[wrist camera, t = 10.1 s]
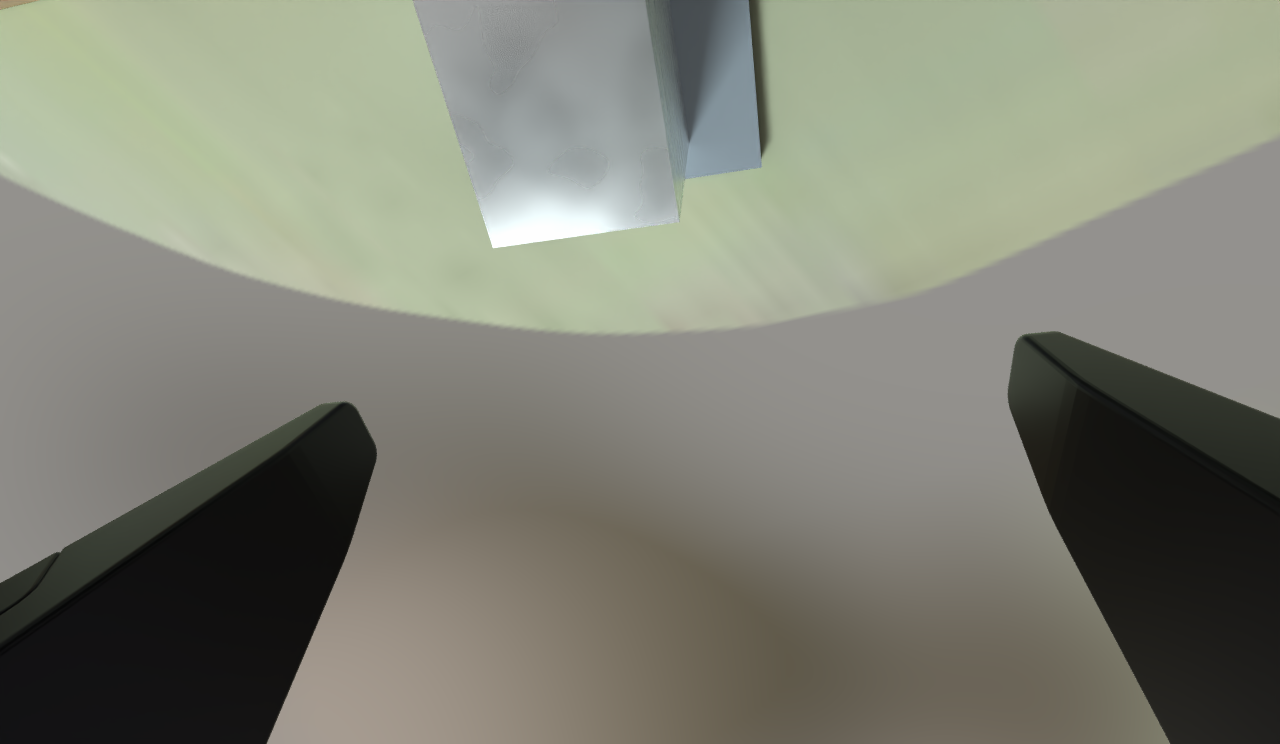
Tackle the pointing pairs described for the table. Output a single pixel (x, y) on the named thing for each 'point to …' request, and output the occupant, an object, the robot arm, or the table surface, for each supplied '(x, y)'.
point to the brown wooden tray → (13, 3)
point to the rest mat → (717, 85)
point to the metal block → (563, 112)
